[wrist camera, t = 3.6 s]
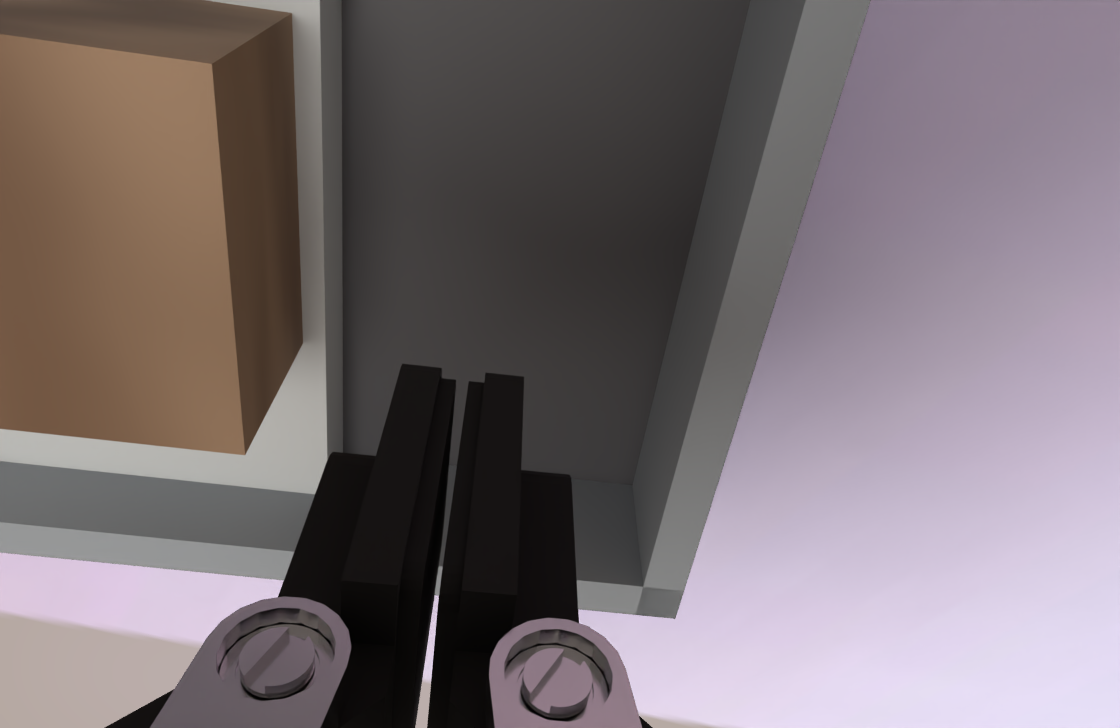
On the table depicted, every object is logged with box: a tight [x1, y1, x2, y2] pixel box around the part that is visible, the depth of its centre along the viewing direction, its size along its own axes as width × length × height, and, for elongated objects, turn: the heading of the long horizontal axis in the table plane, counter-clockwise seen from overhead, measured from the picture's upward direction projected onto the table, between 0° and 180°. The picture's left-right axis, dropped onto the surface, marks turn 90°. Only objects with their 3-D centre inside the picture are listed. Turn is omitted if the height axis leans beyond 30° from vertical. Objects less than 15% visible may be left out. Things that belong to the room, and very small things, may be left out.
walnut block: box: [0, 0, 303, 455], centre depth 15 cm, size 7×7×4 cm
